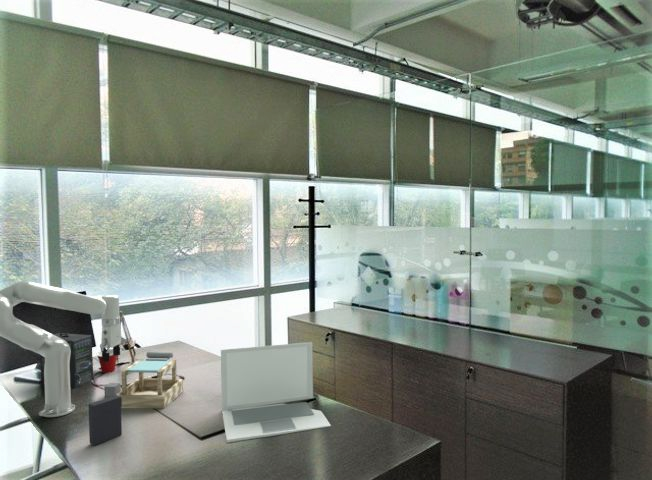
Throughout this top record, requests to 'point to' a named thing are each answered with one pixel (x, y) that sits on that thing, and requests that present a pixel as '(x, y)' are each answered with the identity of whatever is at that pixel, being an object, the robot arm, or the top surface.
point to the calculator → (105, 419)
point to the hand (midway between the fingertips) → (111, 358)
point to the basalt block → (112, 389)
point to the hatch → (152, 362)
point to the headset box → (77, 359)
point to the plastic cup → (107, 366)
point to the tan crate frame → (150, 388)
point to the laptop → (268, 391)
